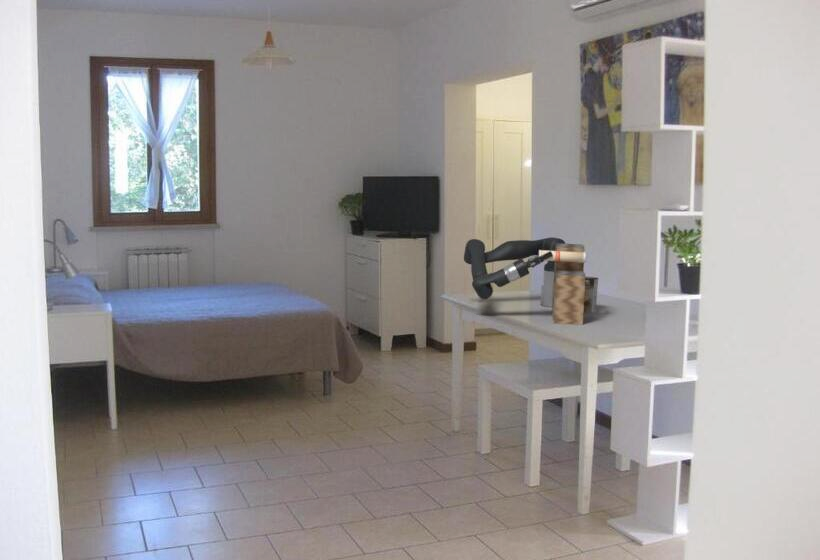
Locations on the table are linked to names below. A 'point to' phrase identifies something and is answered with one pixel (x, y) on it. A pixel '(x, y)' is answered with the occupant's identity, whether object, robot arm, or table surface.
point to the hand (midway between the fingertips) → (551, 252)
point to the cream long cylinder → (565, 256)
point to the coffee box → (590, 294)
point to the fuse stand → (568, 288)
